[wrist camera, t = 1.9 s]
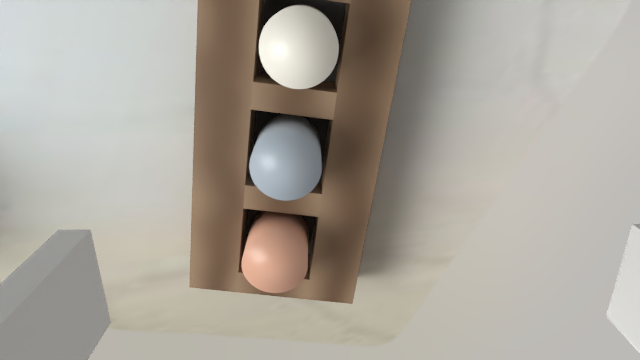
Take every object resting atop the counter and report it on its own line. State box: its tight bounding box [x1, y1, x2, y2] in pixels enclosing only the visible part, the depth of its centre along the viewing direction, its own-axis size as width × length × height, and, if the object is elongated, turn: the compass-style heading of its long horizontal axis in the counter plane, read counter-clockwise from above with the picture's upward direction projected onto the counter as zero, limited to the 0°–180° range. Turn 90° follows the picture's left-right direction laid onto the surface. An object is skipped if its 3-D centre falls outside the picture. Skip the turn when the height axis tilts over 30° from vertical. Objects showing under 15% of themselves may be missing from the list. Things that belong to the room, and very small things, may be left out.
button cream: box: [259, 4, 339, 89], centre depth 31 cm, size 5×5×5 cm
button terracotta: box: [242, 211, 308, 293], centre depth 37 cm, size 5×5×5 cm
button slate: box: [249, 114, 322, 201], centre depth 34 cm, size 5×5×5 cm
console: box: [190, 0, 411, 304], centre depth 36 cm, size 14×26×4 cm, turn 172°
